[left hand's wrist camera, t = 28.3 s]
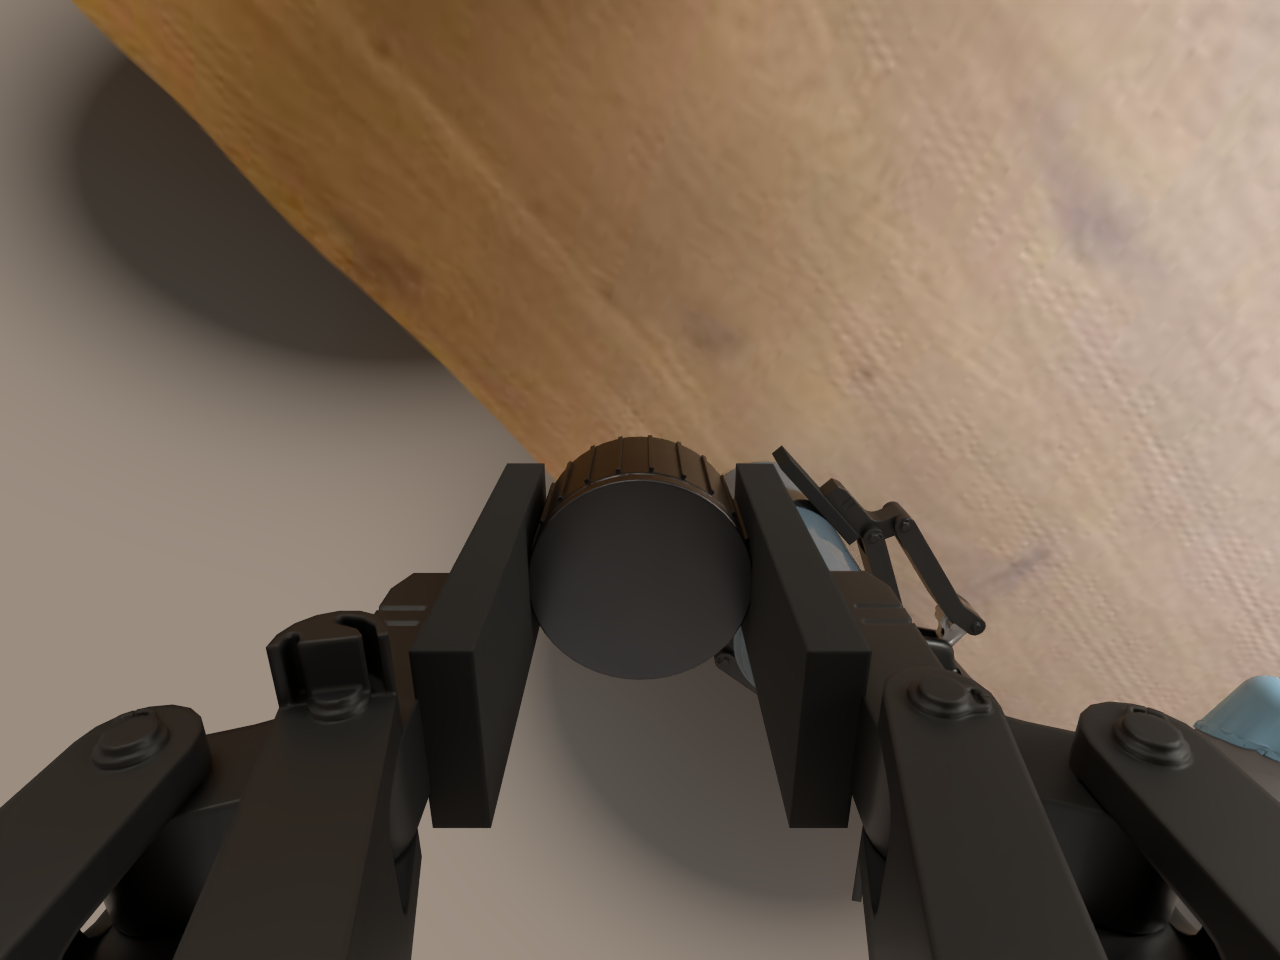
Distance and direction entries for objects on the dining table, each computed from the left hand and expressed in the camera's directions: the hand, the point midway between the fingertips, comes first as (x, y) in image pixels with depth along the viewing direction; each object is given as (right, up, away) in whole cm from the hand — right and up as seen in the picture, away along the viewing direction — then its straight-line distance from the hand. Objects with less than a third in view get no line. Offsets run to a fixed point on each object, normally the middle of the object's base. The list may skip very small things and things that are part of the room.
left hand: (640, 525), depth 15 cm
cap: (0, -1, -2) cm, 2 cm away
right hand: (+5, 0, +27) cm, 28 cm away
